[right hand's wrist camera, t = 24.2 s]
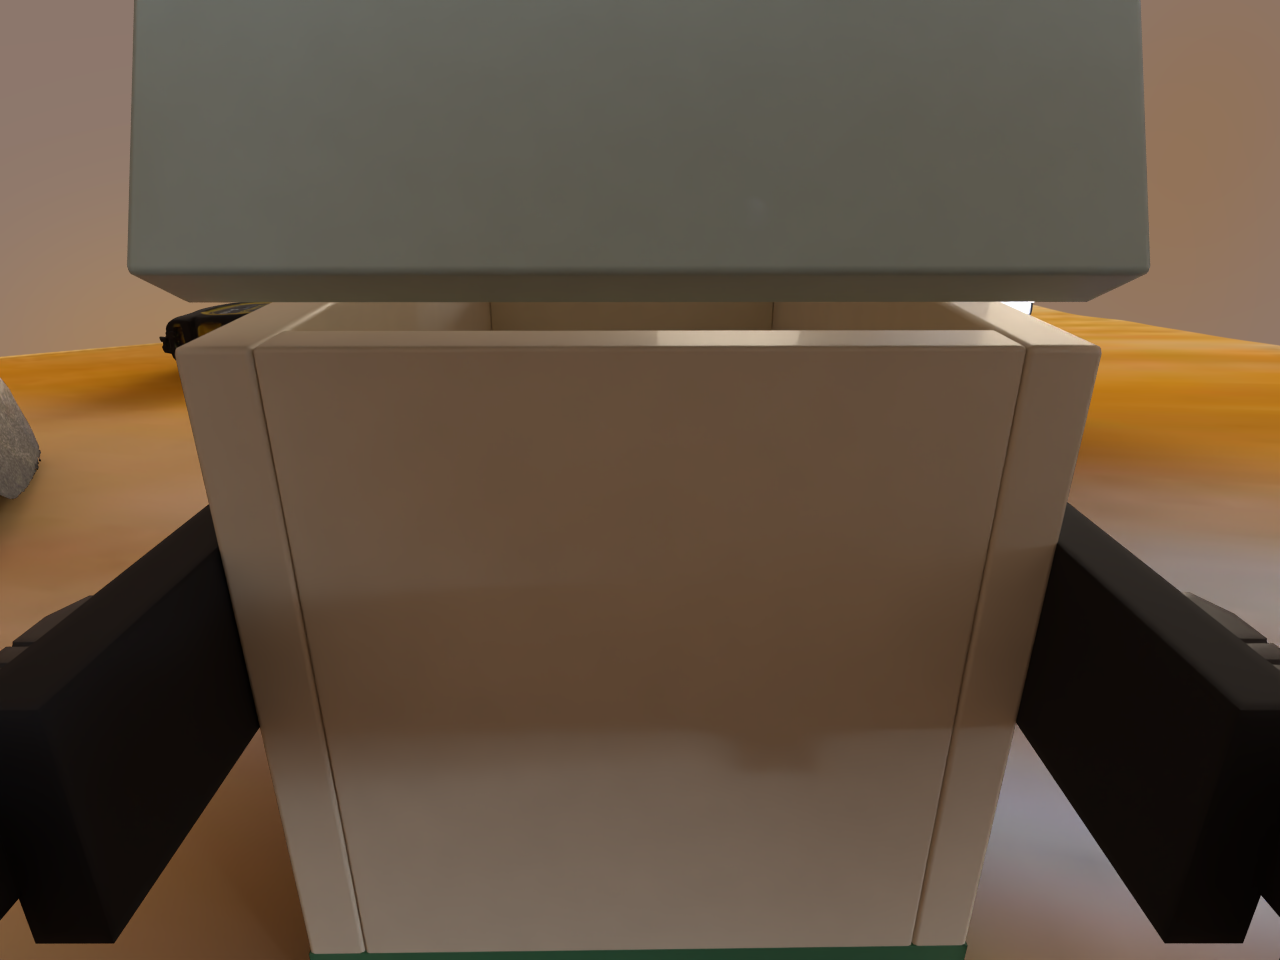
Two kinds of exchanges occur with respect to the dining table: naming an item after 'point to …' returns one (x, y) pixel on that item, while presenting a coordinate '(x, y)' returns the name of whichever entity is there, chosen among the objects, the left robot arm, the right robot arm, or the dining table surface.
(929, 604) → the chest
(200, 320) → the tape measure
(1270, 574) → the dining table surface
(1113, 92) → the lid
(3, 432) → the rock
